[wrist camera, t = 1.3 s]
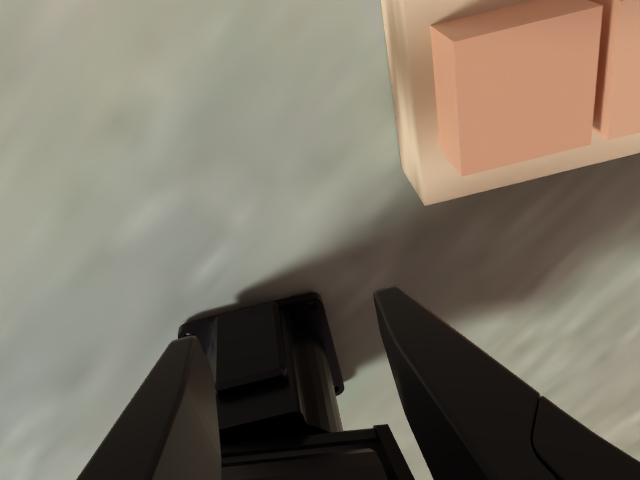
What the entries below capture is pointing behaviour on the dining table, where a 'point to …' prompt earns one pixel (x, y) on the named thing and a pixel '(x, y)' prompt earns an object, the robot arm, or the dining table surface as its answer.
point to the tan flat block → (421, 110)
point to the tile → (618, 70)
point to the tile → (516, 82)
